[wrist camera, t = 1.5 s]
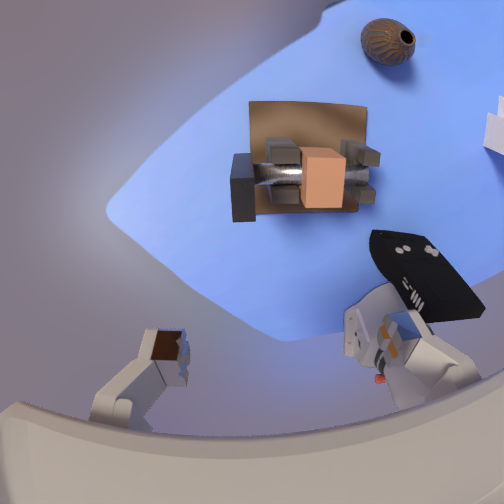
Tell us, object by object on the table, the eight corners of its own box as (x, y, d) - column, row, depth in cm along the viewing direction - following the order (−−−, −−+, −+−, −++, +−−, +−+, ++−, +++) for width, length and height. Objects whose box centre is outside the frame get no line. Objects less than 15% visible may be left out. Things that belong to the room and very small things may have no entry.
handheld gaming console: (425, 233, 44) (488, 304, 27) (416, 254, 46) (472, 328, 29) (371, 225, 43) (431, 308, 26) (363, 249, 46) (414, 336, 29)
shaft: (357, 185, 33) (392, 219, 25) (235, 186, 33) (232, 222, 25) (360, 154, 31) (399, 180, 23) (234, 153, 31) (230, 178, 23)
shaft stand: (355, 209, 42) (379, 239, 33) (252, 211, 41) (254, 243, 33) (363, 106, 33) (396, 113, 25) (248, 101, 33) (250, 103, 25)
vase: (344, 41, 28) (370, 30, 21) (371, 15, 25) (401, 2, 18) (379, 75, 30) (411, 74, 23) (404, 49, 28) (438, 44, 20)
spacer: (328, 190, 33) (341, 207, 29) (296, 190, 33) (305, 207, 29) (330, 147, 31) (346, 158, 26) (297, 146, 31) (307, 157, 26)
